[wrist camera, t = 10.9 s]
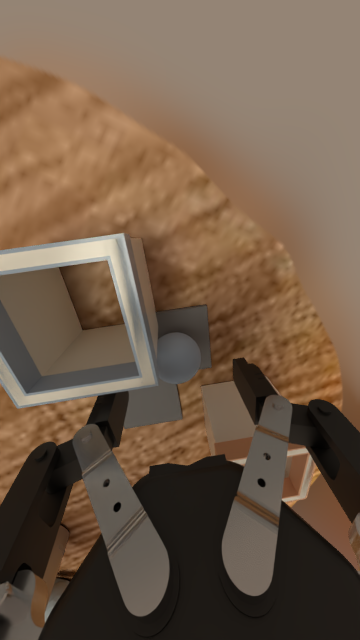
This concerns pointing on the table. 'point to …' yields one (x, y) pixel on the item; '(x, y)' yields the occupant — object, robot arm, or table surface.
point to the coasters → (164, 398)
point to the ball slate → (177, 358)
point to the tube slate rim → (74, 324)
